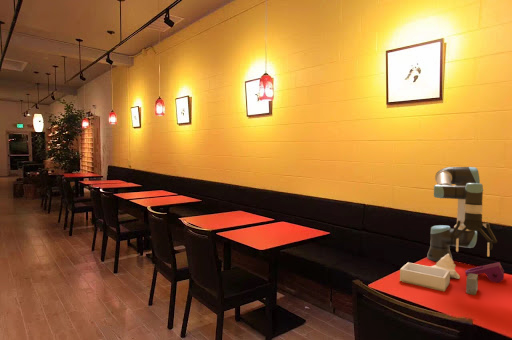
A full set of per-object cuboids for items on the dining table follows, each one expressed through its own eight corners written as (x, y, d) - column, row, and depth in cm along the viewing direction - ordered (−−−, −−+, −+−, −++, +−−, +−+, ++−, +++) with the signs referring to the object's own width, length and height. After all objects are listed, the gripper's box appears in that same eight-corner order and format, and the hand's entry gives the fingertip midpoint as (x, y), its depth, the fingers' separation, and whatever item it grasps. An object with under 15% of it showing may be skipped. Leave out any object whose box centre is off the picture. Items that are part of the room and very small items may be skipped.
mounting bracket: (471, 287, 191) (506, 280, 181) (464, 273, 193) (498, 266, 183) (472, 282, 199) (506, 276, 188) (466, 269, 201) (499, 261, 190)
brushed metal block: (468, 287, 176) (469, 272, 175) (477, 289, 173) (478, 274, 173) (466, 293, 168) (466, 278, 168) (475, 295, 165) (475, 279, 165)
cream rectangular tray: (407, 273, 196) (407, 262, 196) (449, 282, 182) (450, 270, 182) (399, 281, 184) (400, 269, 183) (444, 291, 170) (444, 278, 169)
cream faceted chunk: (431, 273, 202) (434, 250, 204) (459, 280, 193) (462, 256, 195) (429, 273, 192) (432, 249, 194) (458, 281, 183) (462, 256, 185)
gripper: (444, 210, 175) (443, 250, 175) (503, 216, 159) (501, 259, 160) (447, 209, 181) (446, 247, 181) (503, 214, 165) (502, 256, 165)
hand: (472, 253), depth 170 cm, fingers open, 13 cm apart
